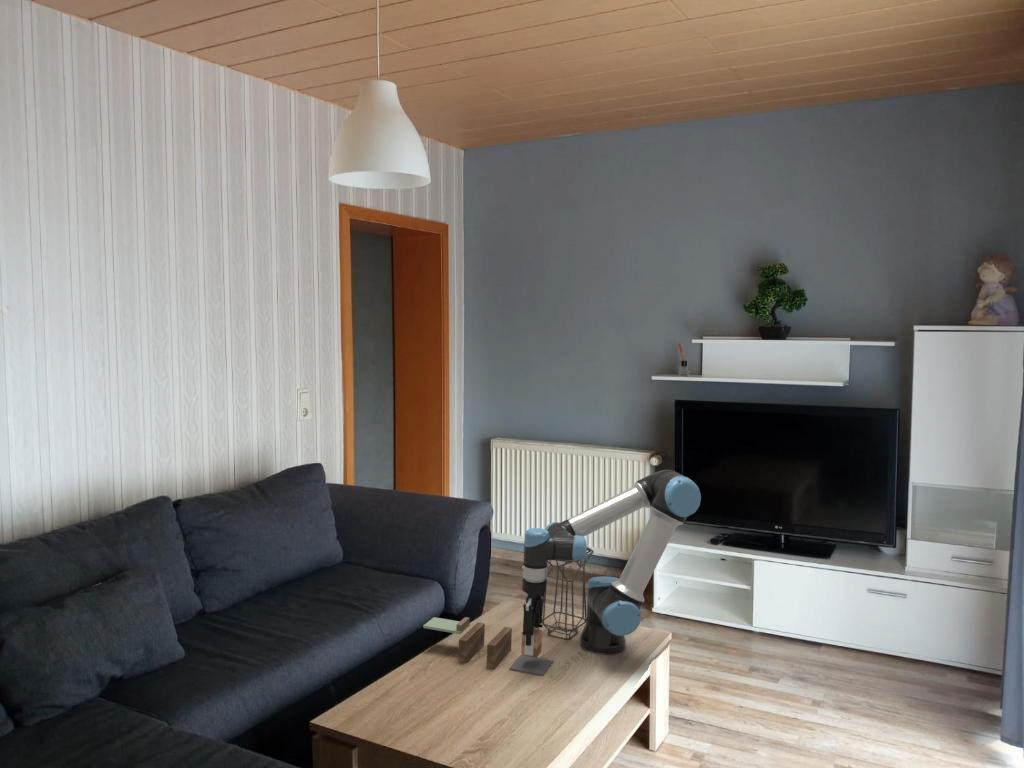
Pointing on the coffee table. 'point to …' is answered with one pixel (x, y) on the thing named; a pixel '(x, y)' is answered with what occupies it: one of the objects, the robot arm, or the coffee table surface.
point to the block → (537, 643)
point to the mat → (531, 665)
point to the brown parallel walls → (475, 642)
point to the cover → (448, 625)
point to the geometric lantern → (566, 597)
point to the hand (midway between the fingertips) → (531, 651)
